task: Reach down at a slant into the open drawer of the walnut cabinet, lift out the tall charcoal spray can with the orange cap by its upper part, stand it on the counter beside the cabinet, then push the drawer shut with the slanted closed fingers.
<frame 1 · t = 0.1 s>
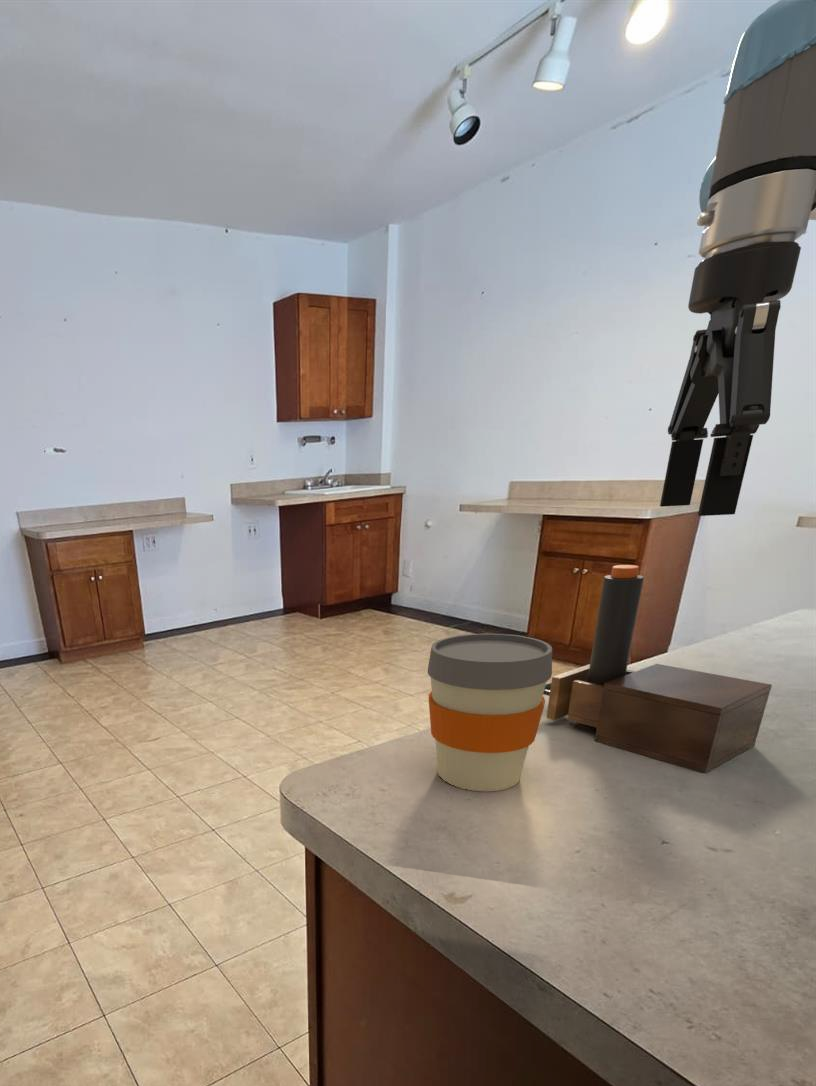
hand: (693, 510, 65), 27 cm above the countertop, tool pointing down, fingers open, 13 cm apart
drawer: (599, 695, 84), point 4 cm above the countertop, slide at 6.0 cm, touching spray can
reusable coffee cup: (477, 775, 74), on the countertop
spray can: (600, 709, 84), point 2 cm above the countertop, touching drawer
cabinet: (672, 743, 78), on the countertop
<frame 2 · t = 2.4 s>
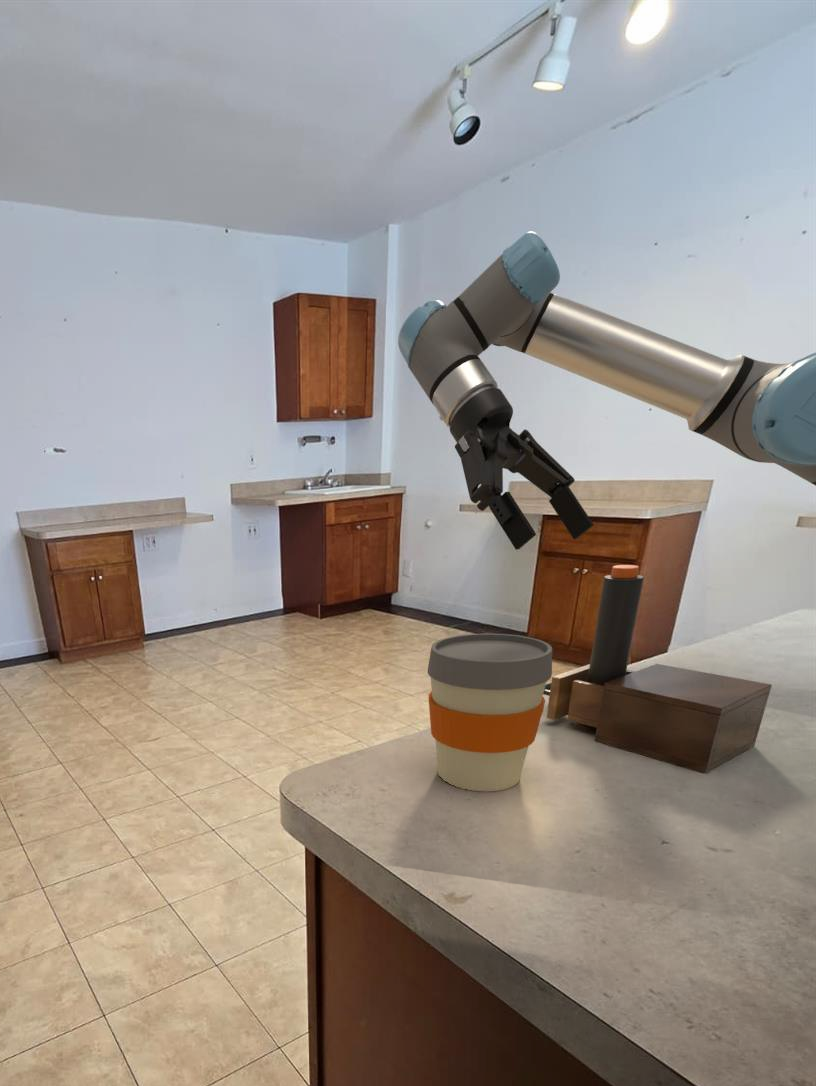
hand: (556, 537, 82), 23 cm above the countertop, tool tilted 40°, fingers open, 13 cm apart
nothing on the countertop moved.
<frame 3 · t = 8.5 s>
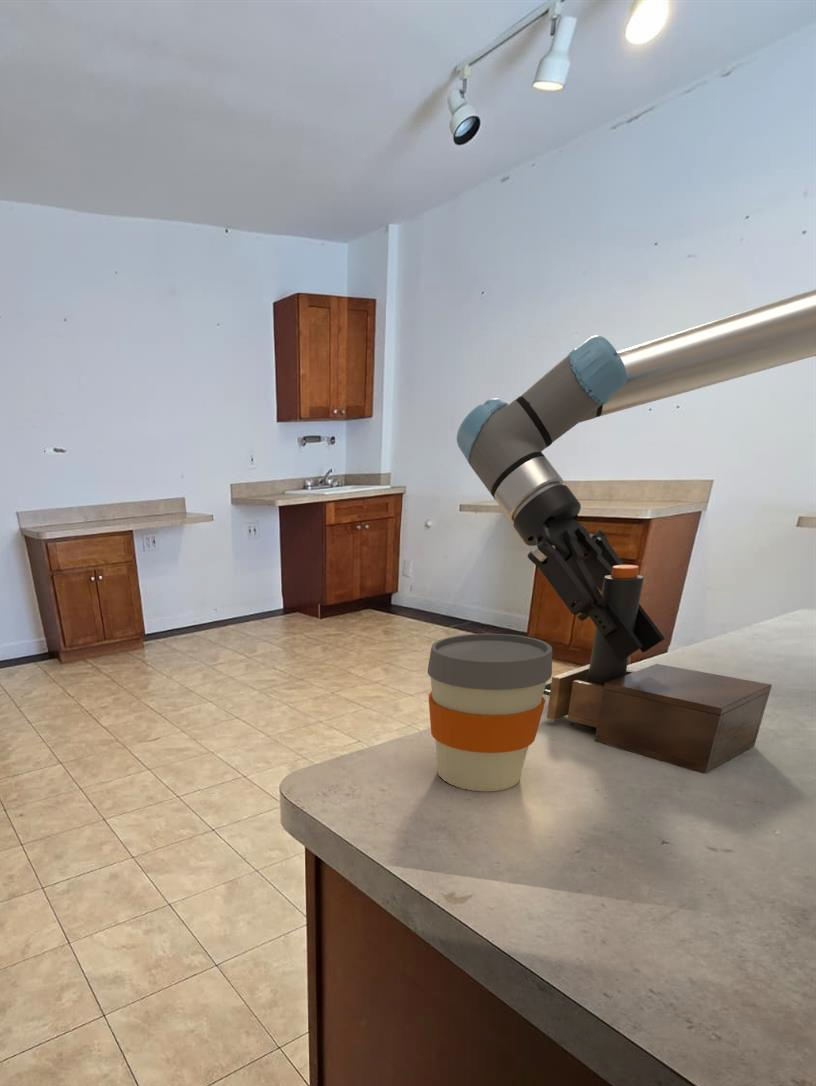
hand: (642, 649, 77), 11 cm above the countertop, tool tilted 45°, fingers closed on spray can, 4 cm apart
spray can: (600, 709, 84), point 2 cm above the countertop, touching drawer, gripper
everything else where it was.
when the fingers open (9 cm above the countertop, at t = 15.7 s): spray can stays where it is, on the countertop.
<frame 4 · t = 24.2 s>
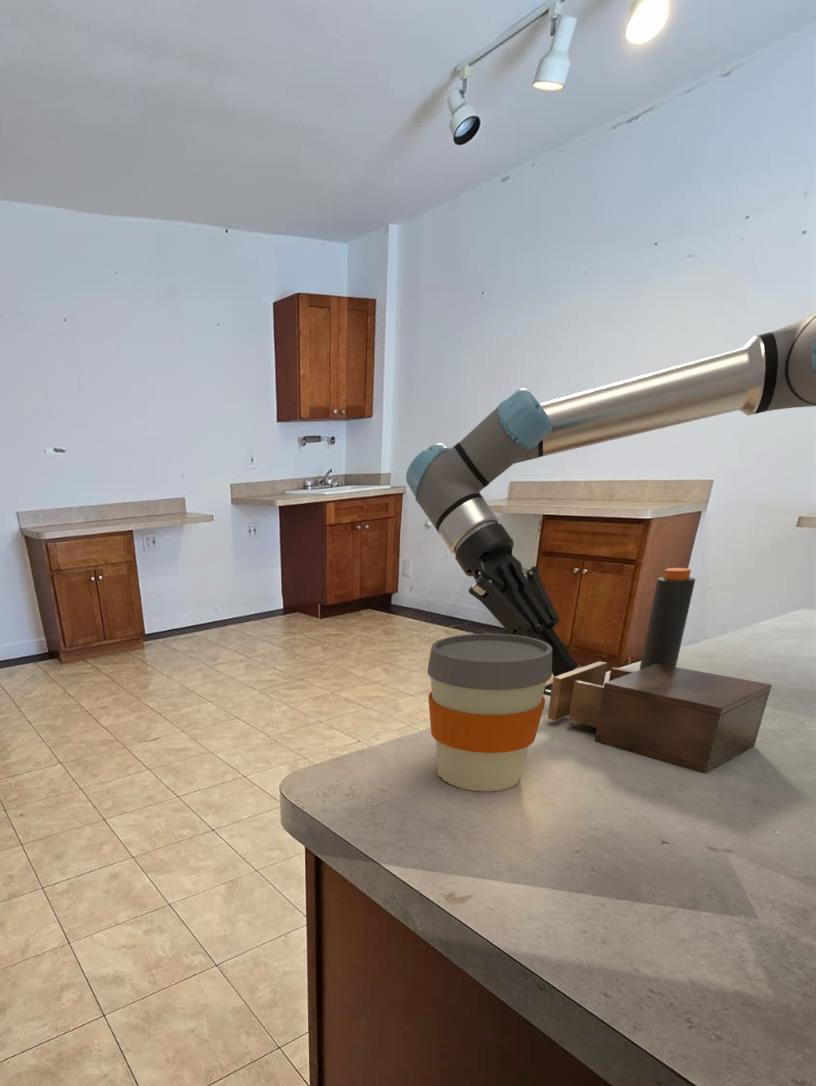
hand: (567, 673, 87), 6 cm above the countertop, tool tilted 45°, fingers closed
drawer: (600, 695, 83), point 4 cm above the countertop, slide at 5.8 cm, touching gripper
spray can: (650, 700, 91), on the countertop
everything else where it was.
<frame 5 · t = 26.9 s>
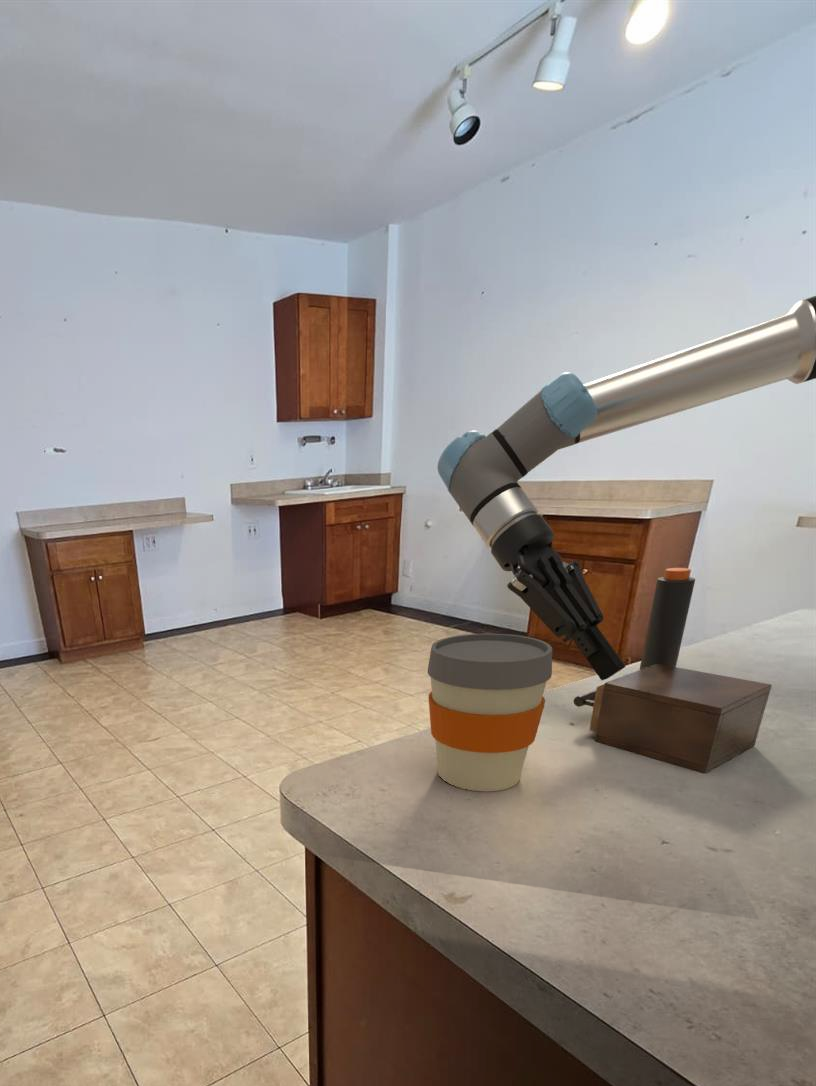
hand: (613, 673, 81), 7 cm above the countertop, tool tilted 45°, fingers closed
drawer: (646, 706, 79), point 4 cm above the countertop, slide at 0.0 cm
everything else where it was.
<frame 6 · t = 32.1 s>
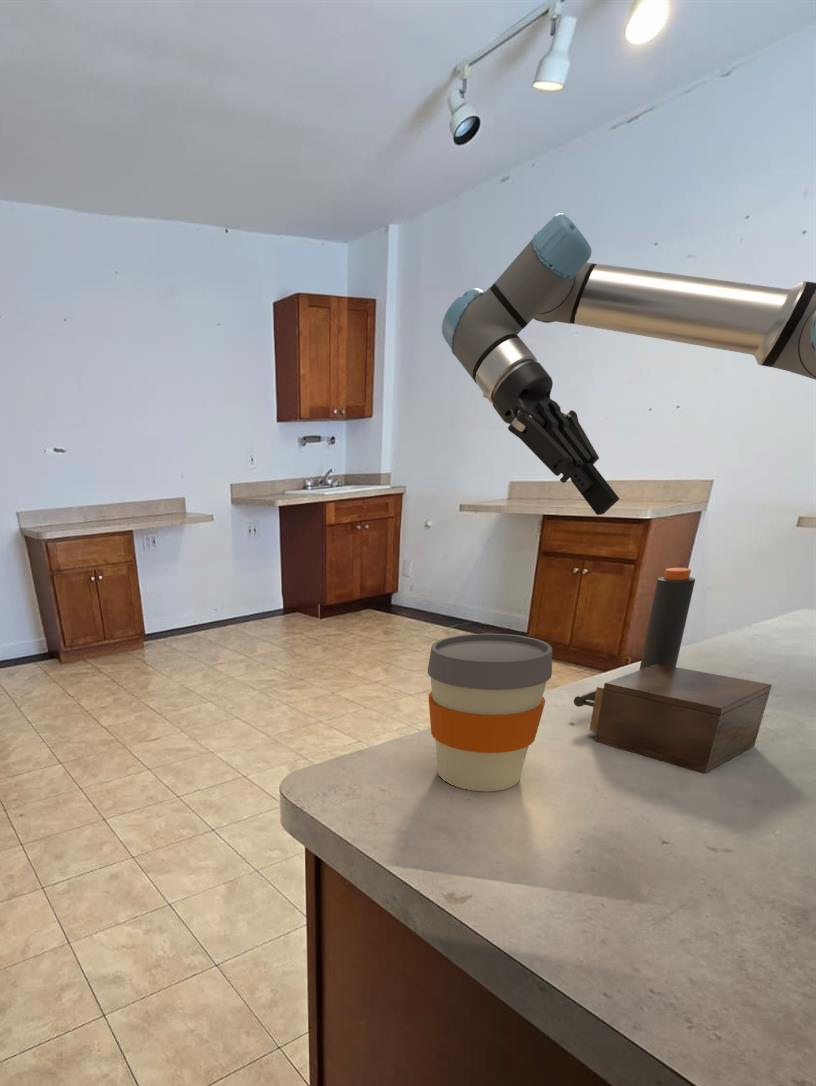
hand: (608, 506, 86), 26 cm above the countertop, tool tilted 45°, fingers closed
nothing on the countertop moved.
at the end: spray can inside the target area (0.1 cm from its centre), on the countertop; spray can tilted 0°; drawer slide at 0.0 cm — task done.
